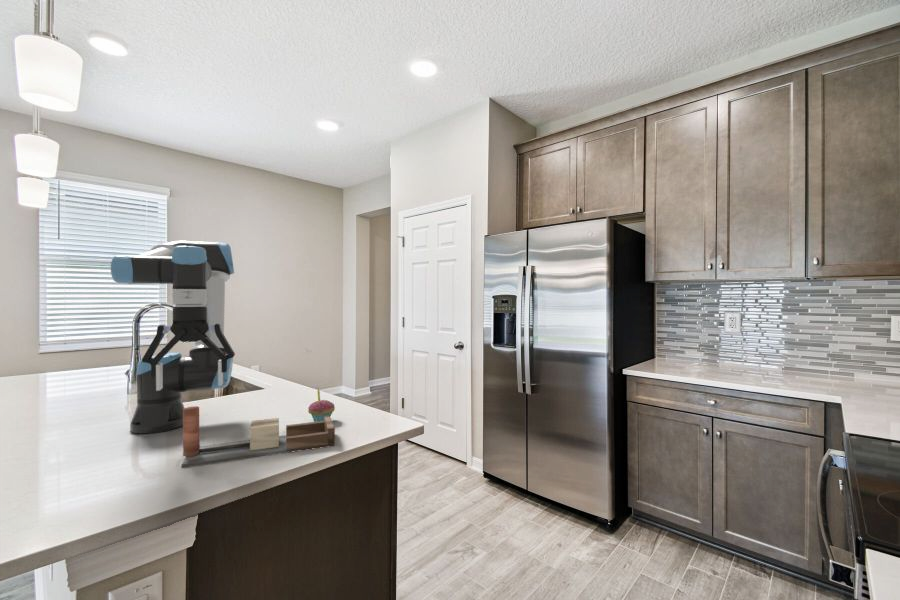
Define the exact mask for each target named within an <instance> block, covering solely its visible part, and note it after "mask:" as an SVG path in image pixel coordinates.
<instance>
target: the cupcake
mask: <svg viewBox="0 0 900 600" xmlns="http://www.w3.org/2000/svg"><path fill="white" fill-rule="evenodd" d="M316 392H317V400H316V401H314V402H312V403H311V404H309V406H308V408H307V409H308V413H309V414H310V415H311V417H312V419H313V422H318V421H324V417H327V416H330V417H331V416H332V415H333V412H334V411H335V409H336V408H335V404H334V402H331V401H329V400H325V399H323V400H322V399H321V394H320V393H321V392H320V389H319V388H317V391H316Z"/></svg>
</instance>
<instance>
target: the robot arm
mask: <svg viewBox="0 0 900 600" xmlns="http://www.w3.org/2000/svg"><path fill="white" fill-rule="evenodd" d="M232 255H233V254H232V249H231V246H230V244H228V243H225V242H219V241H214V242H213V241H195V240H193V241H191V240H173V241H170V242H169V241H168V242H164V243H160V244H156V245H154V246H153V247H151V248H150V249H149V251H146V252H143V253H140V254H137V255H133V254H132V255H130V254H125V255H123V254H122V255H119V254H118V255H115V256H113V257H112V260H111V262H110V274H111V277H112V280H113V281H114V282H115V283H118V284H129V285H132V284H140V285H141V284H145V285H146V284H148V285H149V284H152V285H153V284H156V285H157V284H158V285H159V284H161V285H172V288H171V289H172V293H171V294H172V295H171V296H172V305H174V306H173V308H172V323H171V324H172V325H165V324H159V325H158V326H157V329H156V335H154V338H153V339H152V342H151V343H150V345H149V346H148V348H147V350H146V352H145V353H144V355H143V357H142V359H140V360H139V361H138V362H137V365H136V366H137V367H136V373H135V376H136V407H135V410H134V413H133V416H132V418H131V421H130V427H129V428H130V430H129V431H130V433H133V434H155V433H161V432H167V431H171V430H174V429H178V428H180V426H181V427H183V409H184V408H185V406H184V404H183V401H182V393H186V392H187V393H188V392H198V391H208V390H211V391H214V390H217V389H218V390H219V389H224V388H226V387H228V385H229V384H230V381H231V377H232V373H233V372H232V371H233V364H234V363H233V362H234V357H235V351H234V350H233V348H232V346H231V344H230V343H229V341H228V340H227V338H226V336H225V302H226V301H225V300H226V299H225V297H226V295H225V294H226V293H225V292H226V290H225V289H226V282H227V281H229V280H230V278H231V277H230V276H231V275H234V273H235V268H234V262H233V261H234V260H233V256H232ZM169 331H170V332H171V333H172V334H173V335H174V336H173V337H172V338H171V339H170V340H169V342H168V343H167V344H166V345H165V346H164V347H163V348H162V349H161V350H160V351H159V352H158V353H157V354H155V352H156V350H157V349H158V347H159V345H160V343H161V342H162V340H163V338H164V337H165V335H167V334H168V333H169ZM179 342H182V343H188V342H194V346H193V347H192V348H190V350H189V354H188V356H182V354H181V352H180V351H178V352H177V351H176V352H170V351H171V350H172V349H173V347H174V346H176V345H177V344H178V343H179ZM154 354H155V355H154Z"/></svg>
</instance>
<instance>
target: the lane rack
mask: <svg viewBox="0 0 900 600" xmlns="http://www.w3.org/2000/svg"><path fill="white" fill-rule="evenodd" d="M285 428H286V431H285V433H286V434H283V435H279V447H273V448H266V449H259V450H251V451H250V446H249V447H241V448H234V449H226V450H219V451H211V452H204V453H199V454H197V455H195V456H190V457H184V459H183V461H182V463H181V465H180V467H181V468H188V467H197V466H201V465H203V466H204V465H208V464H211V465H212V464H217V463H224V462H230V461H239V460H245V459H252V458H258V457H265V456H271V455H272V456H273V454H274V455H280V454H279V453H281V454H287V453H286V452H288V453H292V451H295V452H299V451H298V450H302V451H307V450H306V449H309V450H313V449H312V448H316V449H321V448H320V447H323V448H328V447H327V446H330V447H335V446H334V445H336V442H335V441H336V440H335V438H336V436H335V433H336V432H335V431H336V428H335V425H334V423H333V420H332V417H331V416H327V417H324V421H318V422H314V421H310V422H302V423H301V422H300V423H294V424H292V423H291V424H286V426H285ZM243 443H250V439H246V440H240V441H239V440H238V441H230V442H222V443H215V444H206V445H200V449H204V448H212V447H219V446H227V445H235V444H243ZM196 465H197V466H196Z"/></svg>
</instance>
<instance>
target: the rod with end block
mask: <svg viewBox="0 0 900 600" xmlns="http://www.w3.org/2000/svg"><path fill="white" fill-rule="evenodd" d="M279 418H280V417H274V418H266V419H265V418H264V419H256V420H251V422H250V423H251V424H250V427H249V440H250V443H243V444H235V445H227V446H219V447H212V448H204V449H200V446H201V445H200V441H201V440H200V438H201V437H200V435H201V434H200V406H195V405H194V406H187V407H184V409H183V426H182V440H183V441H182V446H183V447H182V448H183V449H182V453H183V454H182V456H183V457H184V458H186V457H190V456H195V455H197V454H199V453H204V452H211V451H219V450H226V449H234V448H241V447H249V446H250V451H251V450H259V449H266V448H273V447H279V436H280V419H279Z"/></svg>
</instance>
